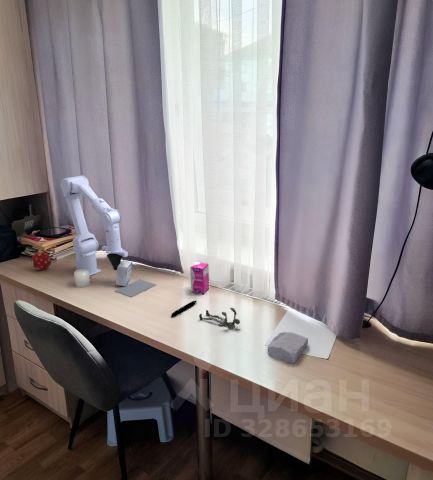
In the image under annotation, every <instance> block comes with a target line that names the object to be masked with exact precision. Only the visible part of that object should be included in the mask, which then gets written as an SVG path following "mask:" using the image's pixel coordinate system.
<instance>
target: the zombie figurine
mask: <svg viewBox="0 0 433 480" xmlns="http://www.w3.org/2000/svg"><path fill="white" fill-rule="evenodd" d="M230 311H231V312H233V319H232V321H229V322H228V318H227V317H228V316H227V312H225V311H222V312H221V315H222V316H224V317H225V318H224V317H222V316H219V315H218V314H217V315H216V314H214V315H213V314H210V312H209V310H208V309H206V310H205V316H206V317H203V316H202V315H203V314H202V313H200V314H199V315H198V317H199V321H202V320H205V321H216V323H219V325H220V326H224V327H227V328H233V327H234V326H235V325H239V324H241V320H240V318H236V316H237V315H238V314H237V311H236V310H235V308H234V307H230Z"/></svg>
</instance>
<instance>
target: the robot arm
mask: <svg viewBox="0 0 433 480" xmlns="http://www.w3.org/2000/svg"><path fill="white" fill-rule="evenodd" d="M60 188H61V191H62V194H63V197H64V198H65V199H66V204H67V206H68V210H69V213H70V216H71V221H72V223H73V226H74V230H75V233H76V235H75V237H74V238H73V239H72V245H73V252H74V254H75V258H74V259H75V260H74V262H75V267H76V270H79V269H88V270H89V277H90V276H91V277H92V276H93V275H96V274H98V273H100V272H102V269H99V268H98V265H97V264H98V263H97V256H96V254H97V252H98V250H99V241H98V240H97V238H96V237H95V234H94V233H92V232H90V231H89V229H88V226H87V222H86V218H85V215H84V212H83V211H84V210H83V208H82V204H81V202H80V197H81V195H82V196H83V197H84V198H86V199H87V200H88V201H89V202H90V203H91V208H92V209H93V210H94V212H95V213H96V214H97V215H98V216H99V217H100V222H101V223H102V226H103V229H104V232H105V242H106V245H103V246H101V251H102V252H105V253H106V257H107V259H108V261H110V264H111V267H112V268H113V271H117V269H118V266H119V264H120V263H121V262H122V260H123V258H127V257H128V256H129V252H128V251H127V250H125V249H123V248H122V243H121V241H122V240H121V231H120V223H121V221H122V214H121V213H120V211H119V210H118V209H115V208H112V207H111V206H110V205H109V204H108V203H107V202H106V201H105V200H104V198H99V197H98V196H97V193H96V192H94V190H93V189H92V188H91V186H90V183H89V179H88V178H87V177H86V176H85V175H83V174H81V175H78V176H71V177H64V178H62V180H61V181H60Z"/></svg>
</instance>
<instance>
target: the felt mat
mask: <svg viewBox="0 0 433 480" xmlns="http://www.w3.org/2000/svg"><path fill="white" fill-rule="evenodd" d="M155 286H157V284H156V283H152V282H149V281H147V280H143V279H137V280H135V281H133V282H131V283H129V284H127V285H126V286H122V287H120V288H118V289H115V290H114V292H115V293H118V294H120V295H121V294H122V295H123V296H127V297H129V298H133V297H135V296H137V295H139V294H141V293H143V292H145V291H148V290H149V289H152V288H153V287H155Z"/></svg>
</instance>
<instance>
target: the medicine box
mask: <svg viewBox="0 0 433 480" xmlns="http://www.w3.org/2000/svg"><path fill="white" fill-rule="evenodd" d="M132 267H133V261H131V260H123V259H122V260H121V262H120V264H119V266H118V269H117V270H116V279H115V285H117V286H122V287H124V286H126V285H128V283H129V282H130V281H131V276H132Z"/></svg>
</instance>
